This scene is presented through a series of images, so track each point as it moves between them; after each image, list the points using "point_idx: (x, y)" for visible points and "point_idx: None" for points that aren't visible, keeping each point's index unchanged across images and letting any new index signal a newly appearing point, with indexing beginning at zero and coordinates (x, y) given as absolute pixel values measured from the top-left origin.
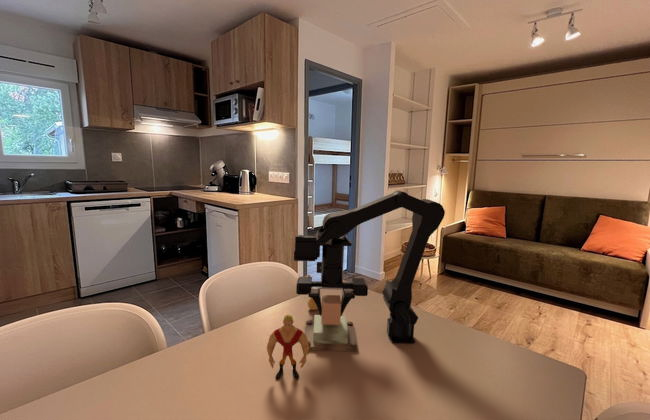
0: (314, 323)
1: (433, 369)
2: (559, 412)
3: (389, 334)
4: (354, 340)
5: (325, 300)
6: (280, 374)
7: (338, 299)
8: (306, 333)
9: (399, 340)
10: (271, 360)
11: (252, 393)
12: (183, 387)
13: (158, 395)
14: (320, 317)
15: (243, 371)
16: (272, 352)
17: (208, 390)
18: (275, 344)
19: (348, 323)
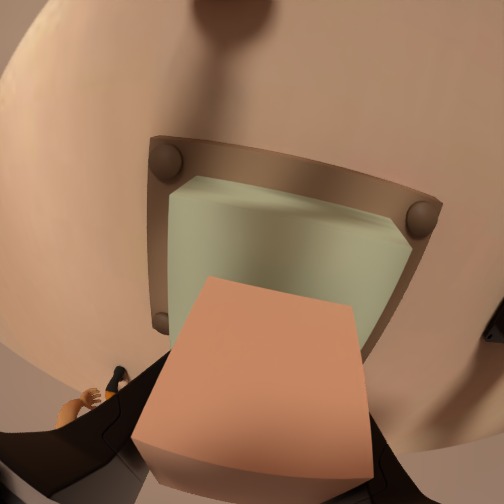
0: (170, 298)
1: (468, 404)
2: (498, 433)
3: (498, 328)
4: (370, 340)
5: (182, 483)
6: (121, 378)
7: (310, 499)
8: (155, 255)
9: (500, 338)
10: (89, 404)
11: (94, 382)
12: (12, 331)
13: (3, 332)
14: (212, 240)
15: (55, 335)
16: (80, 408)
17: (38, 350)
18: (76, 418)
19: (413, 222)
